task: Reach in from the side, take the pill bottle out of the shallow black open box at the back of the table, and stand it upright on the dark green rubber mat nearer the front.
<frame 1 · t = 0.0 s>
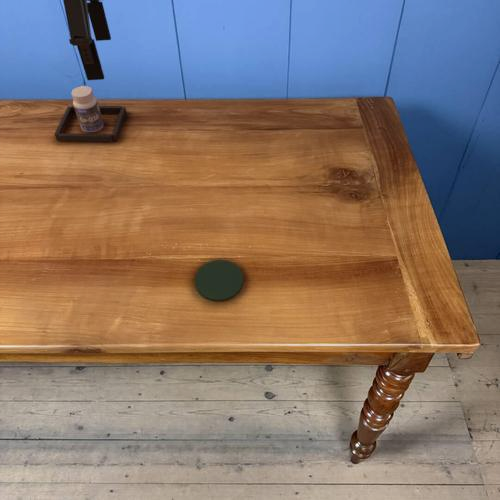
hand: (100, 58, 82), 17 cm above the table, tool pointing down, fingers open, 13 cm apart
parts box: (92, 126, 97), on the table
pill bottle: (93, 127, 98), resting in parts box
mat: (219, 281, 72), on the table
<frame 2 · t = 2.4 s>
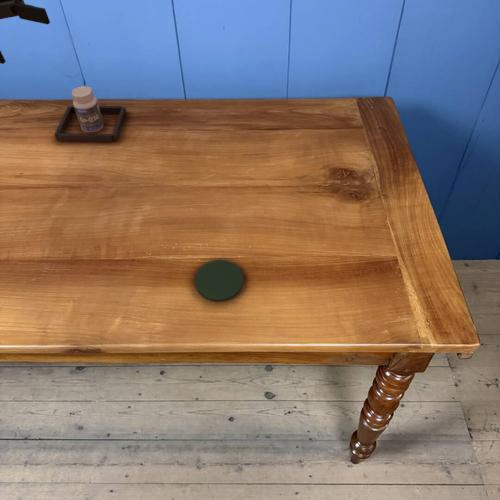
hand: (24, 35, 84), 19 cm above the table, tool horizontal, fingers open, 13 cm apart
nothing on the table moved.
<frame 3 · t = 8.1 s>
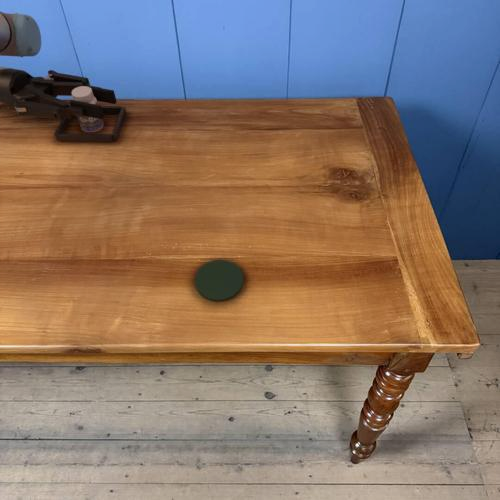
hand: (107, 104, 92), 6 cm above the table, tool horizontal, fingers closed on pill bottle, 5 cm apart
pill bottle: (93, 127, 98), resting in parts box, touching gripper
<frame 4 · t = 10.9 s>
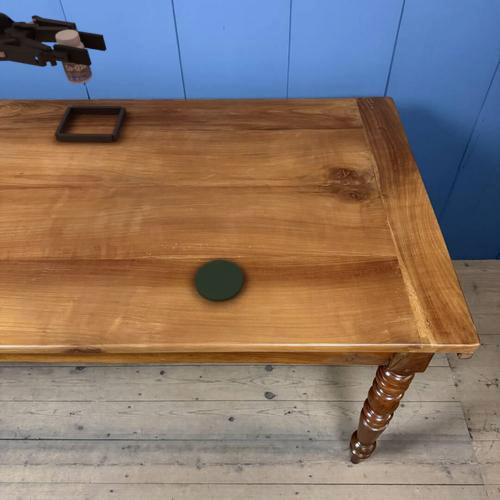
hand: (96, 50, 82), 18 cm above the table, tool horizontal, fingers closed on pill bottle, 5 cm apart
pill bottle: (80, 78, 88), point 11 cm above the table, touching gripper
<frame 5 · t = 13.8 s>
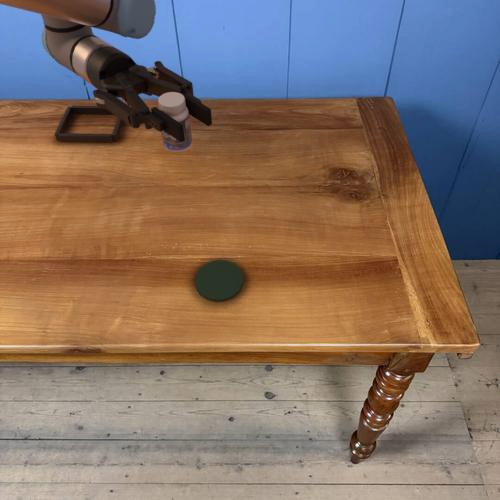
hand: (195, 125, 68), 18 cm above the table, tool horizontal, fingers closed on pill bottle, 5 cm apart
pill bottle: (178, 145, 75), point 11 cm above the table, touching gripper
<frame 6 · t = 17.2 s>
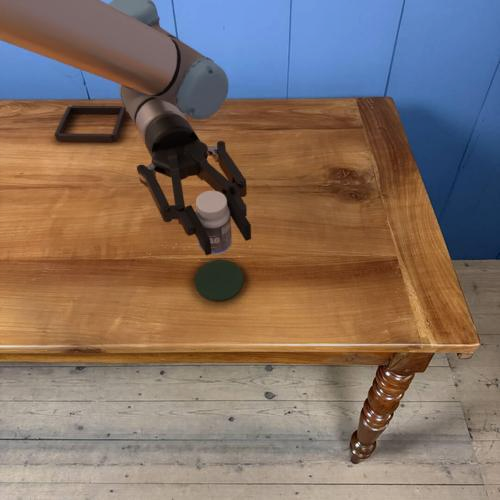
hand: (228, 240, 57), 16 cm above the table, tool horizontal, fingers closed on pill bottle, 5 cm apart
pill bottle: (215, 243, 65), point 9 cm above the table, touching gripper
when the fingers open (7 cm above the table, at t = 19.8 s): pill bottle stays where it is, resting on mat.
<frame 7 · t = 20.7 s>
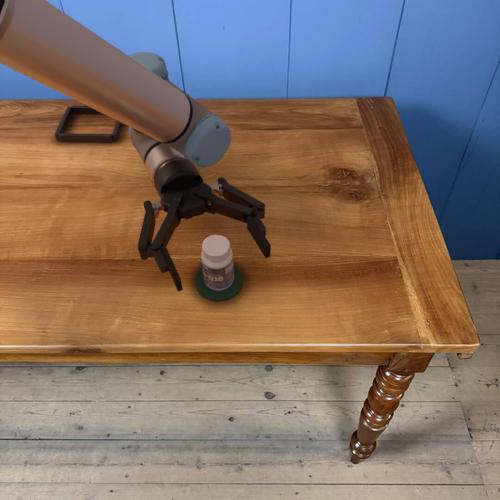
hand: (225, 268, 64), 7 cm above the table, tool horizontal, fingers open, 13 cm apart
pill bottle: (219, 279, 72), resting on mat
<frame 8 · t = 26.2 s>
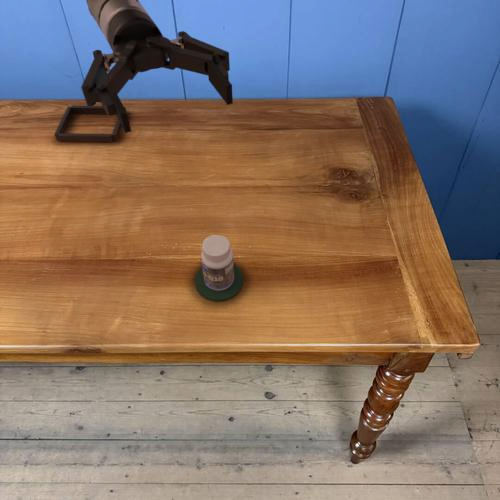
hand: (179, 108, 57), 26 cm above the table, tool horizontal, fingers open, 13 cm apart
nothing on the table moved.
at the end: pill bottle 0.0 cm off-centre on the mat, point 0.4 cm above the mat's base; pill bottle tilted 0°; the gripper is holding nothing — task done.
